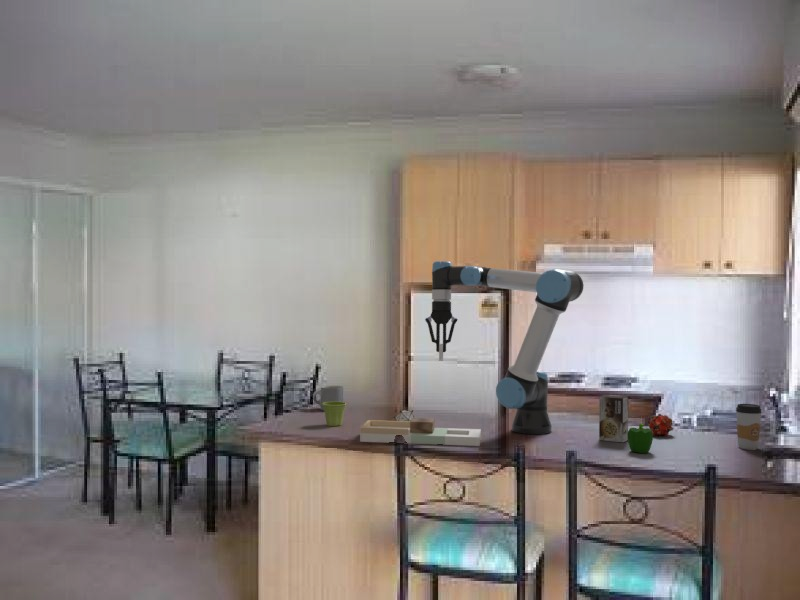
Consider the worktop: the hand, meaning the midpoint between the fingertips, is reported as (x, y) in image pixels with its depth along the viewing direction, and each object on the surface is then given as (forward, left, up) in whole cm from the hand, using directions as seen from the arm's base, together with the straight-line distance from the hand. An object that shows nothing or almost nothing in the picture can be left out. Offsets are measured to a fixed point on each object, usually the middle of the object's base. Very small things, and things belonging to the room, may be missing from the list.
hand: (441, 360), depth 315 cm
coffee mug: (+53, -34, -26) cm, 68 cm away
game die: (+13, +11, -26) cm, 31 cm away
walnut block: (+4, +28, -23) cm, 37 cm away
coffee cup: (-109, +22, -26) cm, 115 cm away
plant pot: (+42, +5, -26) cm, 49 cm away
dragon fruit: (-83, +3, -26) cm, 88 cm away
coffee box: (-64, +16, -26) cm, 71 cm away
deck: (+5, +28, -26) cm, 39 cm away
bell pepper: (-70, +36, -26) cm, 83 cm away
